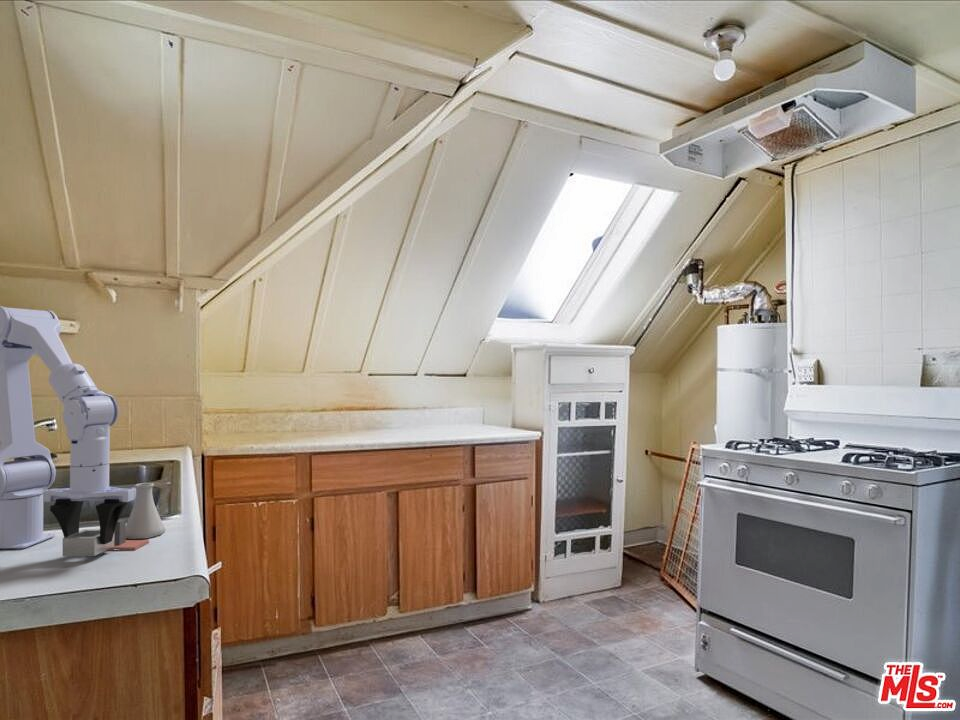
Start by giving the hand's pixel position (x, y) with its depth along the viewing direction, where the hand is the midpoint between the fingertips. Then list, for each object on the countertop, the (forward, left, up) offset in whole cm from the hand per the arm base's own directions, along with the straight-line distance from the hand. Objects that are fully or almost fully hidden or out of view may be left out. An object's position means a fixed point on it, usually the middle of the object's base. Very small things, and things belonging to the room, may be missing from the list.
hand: (89, 542), depth 101 cm
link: (0, 0, -1) cm, 1 cm away
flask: (+2, +13, -3) cm, 13 cm away
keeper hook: (+2, +5, -2) cm, 6 cm away
